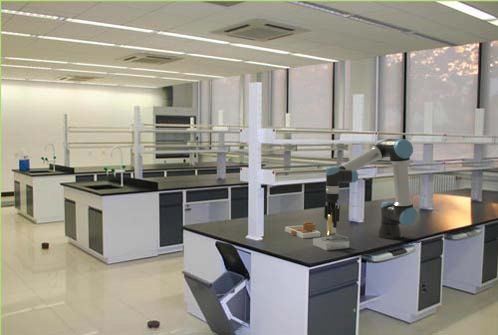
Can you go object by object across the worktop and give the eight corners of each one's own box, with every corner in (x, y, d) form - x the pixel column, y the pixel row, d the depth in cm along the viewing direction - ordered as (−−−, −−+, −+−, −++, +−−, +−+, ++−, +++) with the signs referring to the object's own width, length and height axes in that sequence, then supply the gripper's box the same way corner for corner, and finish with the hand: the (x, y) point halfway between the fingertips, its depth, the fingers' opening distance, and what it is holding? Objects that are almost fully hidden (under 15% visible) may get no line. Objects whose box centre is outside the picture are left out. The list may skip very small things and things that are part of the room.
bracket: (309, 231, 304) (310, 222, 304) (317, 234, 297) (318, 224, 297) (288, 233, 295) (289, 223, 295) (296, 236, 288) (296, 225, 288)
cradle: (301, 229, 309) (301, 225, 309) (320, 236, 288) (320, 232, 288) (284, 231, 304) (285, 226, 304) (302, 238, 283) (302, 233, 282)
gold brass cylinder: (332, 233, 265) (332, 213, 264) (336, 235, 261) (336, 215, 260) (325, 234, 263) (326, 214, 262) (330, 235, 259) (330, 215, 258)
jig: (335, 242, 272) (335, 232, 272) (349, 247, 259) (349, 237, 259) (313, 244, 266) (313, 235, 265) (326, 250, 253) (326, 240, 252)
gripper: (318, 191, 267) (317, 229, 268) (335, 195, 251) (334, 235, 252) (329, 191, 270) (328, 228, 271) (346, 194, 254) (345, 234, 256)
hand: (331, 231), depth 262 cm, fingers closed on gold brass cylinder, 4 cm apart
